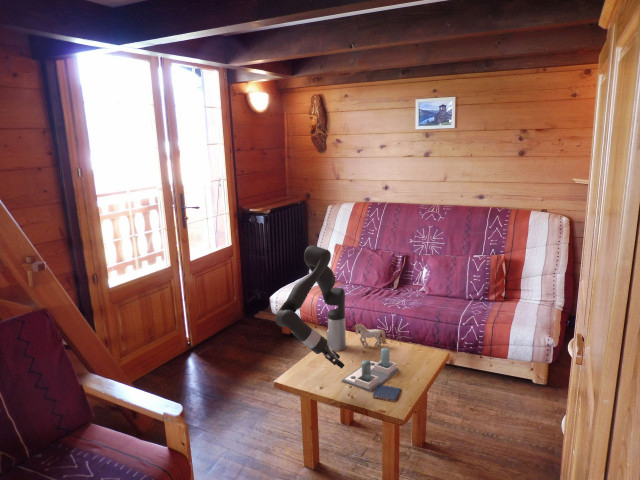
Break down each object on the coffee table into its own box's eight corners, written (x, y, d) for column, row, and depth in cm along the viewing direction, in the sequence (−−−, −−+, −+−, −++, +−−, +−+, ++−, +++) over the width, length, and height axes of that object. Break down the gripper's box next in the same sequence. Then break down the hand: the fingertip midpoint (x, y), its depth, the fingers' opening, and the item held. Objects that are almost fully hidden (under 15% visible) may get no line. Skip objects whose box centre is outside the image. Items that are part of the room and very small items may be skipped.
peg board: (342, 381, 209) (341, 359, 207) (370, 361, 227) (370, 341, 225) (371, 392, 199) (370, 369, 197) (398, 370, 217) (398, 349, 215)
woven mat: (396, 404, 190) (396, 399, 190) (372, 399, 195) (372, 395, 194) (402, 391, 200) (402, 387, 199) (379, 387, 204) (379, 383, 204)
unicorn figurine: (349, 346, 247) (348, 322, 244) (383, 342, 250) (383, 319, 247) (352, 351, 240) (351, 327, 237) (387, 347, 243) (387, 324, 240)
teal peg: (360, 383, 205) (359, 362, 203) (365, 379, 208) (364, 359, 206) (367, 386, 203) (367, 365, 201) (372, 382, 206) (372, 361, 204)
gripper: (323, 341, 190) (350, 363, 194) (317, 328, 204) (342, 349, 208) (311, 354, 190) (338, 376, 194) (305, 340, 204) (331, 361, 208)
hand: (340, 362), depth 201 cm, fingers open, 8 cm apart
